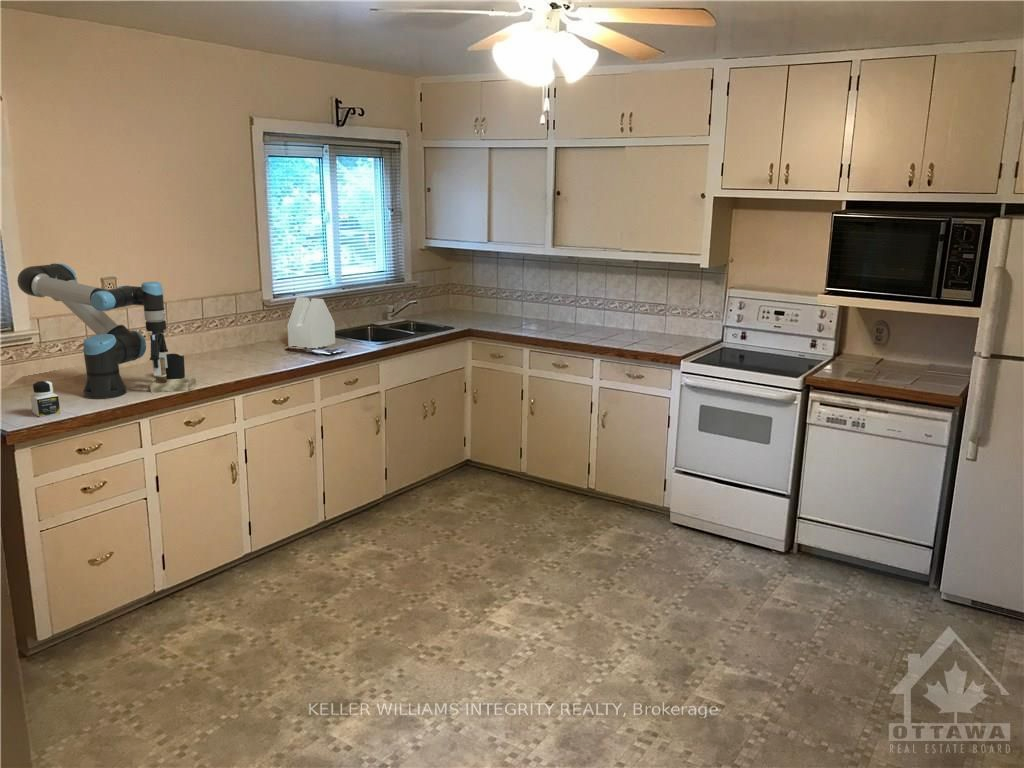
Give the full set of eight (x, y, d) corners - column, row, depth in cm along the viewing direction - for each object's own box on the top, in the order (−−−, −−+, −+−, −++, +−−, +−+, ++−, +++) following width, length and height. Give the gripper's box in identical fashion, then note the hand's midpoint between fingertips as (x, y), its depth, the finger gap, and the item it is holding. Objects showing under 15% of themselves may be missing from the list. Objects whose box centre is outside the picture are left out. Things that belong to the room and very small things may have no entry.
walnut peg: (155, 383, 318) (152, 359, 316) (157, 381, 322) (154, 357, 320) (166, 383, 319) (163, 359, 317) (168, 380, 323) (165, 357, 321)
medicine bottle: (39, 417, 282) (34, 385, 278) (32, 413, 286) (27, 382, 283) (60, 413, 287) (56, 382, 284) (53, 409, 291) (49, 378, 288)
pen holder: (186, 375, 346) (184, 353, 343) (184, 380, 337) (182, 357, 334) (163, 376, 343) (161, 354, 340) (161, 381, 334) (159, 358, 332)
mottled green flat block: (151, 392, 317) (150, 385, 316) (155, 386, 325) (154, 379, 324) (192, 390, 320) (192, 383, 319) (196, 385, 329) (195, 378, 328)
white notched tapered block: (312, 340, 424) (310, 294, 418) (335, 343, 418) (333, 297, 412) (288, 346, 407) (285, 299, 401) (312, 349, 401) (309, 301, 395)
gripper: (159, 325, 303) (165, 378, 309) (170, 315, 327) (175, 364, 332) (138, 326, 302) (144, 379, 307) (151, 315, 325) (157, 365, 331)
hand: (160, 371), depth 320 cm, fingers open, 13 cm apart
